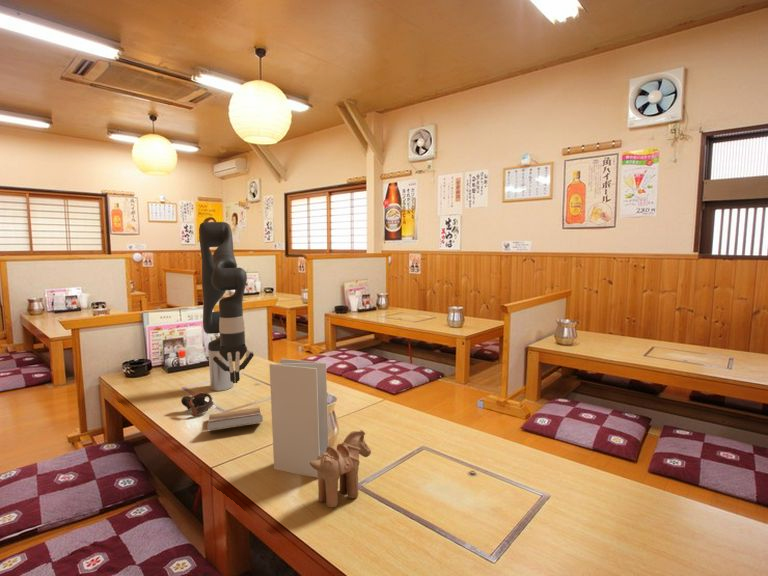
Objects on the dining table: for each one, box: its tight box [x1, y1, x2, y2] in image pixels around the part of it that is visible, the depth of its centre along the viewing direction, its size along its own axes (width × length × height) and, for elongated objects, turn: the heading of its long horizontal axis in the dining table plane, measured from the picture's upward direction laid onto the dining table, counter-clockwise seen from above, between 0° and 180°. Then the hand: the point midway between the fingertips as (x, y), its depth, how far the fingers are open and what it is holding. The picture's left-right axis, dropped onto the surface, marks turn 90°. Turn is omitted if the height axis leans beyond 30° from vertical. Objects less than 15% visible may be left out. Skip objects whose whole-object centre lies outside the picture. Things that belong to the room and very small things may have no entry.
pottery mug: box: [180, 391, 215, 418], centre depth 156 cm, size 12×10×8 cm
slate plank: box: [206, 414, 264, 431], centre depth 141 cm, size 7×17×2 cm, turn 110°
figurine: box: [310, 429, 372, 508], centre depth 104 cm, size 7×18×15 cm, turn 132°
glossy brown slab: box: [208, 407, 262, 423], centre depth 149 cm, size 8×17×2 cm, turn 111°
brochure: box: [269, 358, 329, 479], centre depth 115 cm, size 14×6×30 cm, turn 71°
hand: (235, 382), depth 137 cm, fingers closed
